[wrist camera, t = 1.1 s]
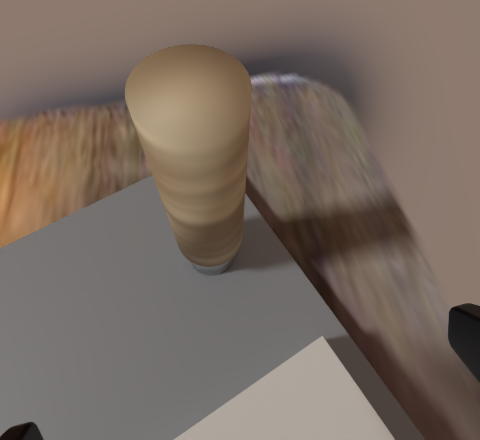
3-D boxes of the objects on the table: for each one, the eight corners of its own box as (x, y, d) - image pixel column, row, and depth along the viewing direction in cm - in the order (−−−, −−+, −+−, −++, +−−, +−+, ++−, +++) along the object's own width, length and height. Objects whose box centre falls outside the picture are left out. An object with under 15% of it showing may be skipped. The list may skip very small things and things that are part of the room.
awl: (252, 261, 22) (276, 103, 10) (201, 291, 21) (160, 157, 9) (222, 216, 23) (211, 30, 11) (172, 243, 22) (104, 71, 10)
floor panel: (455, 493, 18) (470, 500, 16) (-122, 1045, 11) (-164, 1121, 10) (212, 156, 26) (211, 145, 25) (-189, 353, 20) (-215, 351, 19)
